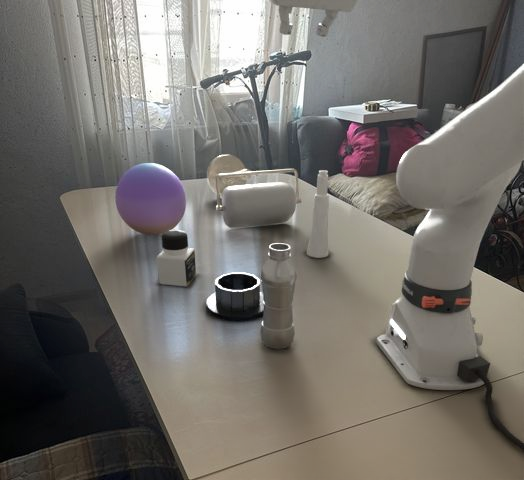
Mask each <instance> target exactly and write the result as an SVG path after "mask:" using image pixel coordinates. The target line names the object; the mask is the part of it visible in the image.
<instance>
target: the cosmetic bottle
mask: <svg viewBox="0 0 524 480" xmlns="http://www.w3.org/2000/svg"><path fill="white" fill-rule="evenodd" d="M328 173H329V171H328V170H326V169H322V170H318V174H317V179H316V193H315V194H314V198H313V205H312V214H311V225H310V233H309V239H308V245H307V249H306V255H307V256H308V257H310V258H315V259H322V258H326V257H328V256H329V254H330V253H329V206H330V205H329V203H330V202H329V201H330V195H329V193H328V191H329V190H328V188H329V178H330V177H329V174H328Z"/></svg>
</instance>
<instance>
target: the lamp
mask: <svg viewBox="0 0 524 480" xmlns="http://www.w3.org/2000/svg"><path fill="white" fill-rule="evenodd" d="M283 173H294V181H295V183H294V184H295V188H294V187H293V186H292V185H291V184H290V183H287V182H284V181H280V182H279V181H275V182H263V183H262V182H261V183H251V184H247V181H248V180H250V179H251V178H252V177H253V176H259V175H270V174H283ZM206 181H207V184H208V186H209V188H210V190H211V191H212V192H213V193H214V194H215V195H216V204H217V205H216V206H215V211H216V212H217V213H218V212H222V219H223V223H224V225H226V227H228V228H229V229H242V228H252V227H260V226H270V225H278V224H279V225H280V224H284V223H286V222H288V221H289V220H290V219H291V218H292V217H293V215H294V213H295V212H296V208H297V205H298V204H302V198H300V192H299V191H300V190H299V173H298V170H297V169H295V168H283V169H282V168H281V169H272V170H256V171H255V170H254V171H252V170H250V169H249V168H246V166H245V164H244V163H243V161H241V159H240V158H239V157H237V156H235V155H233V154H221V155H219V156H217V157H215V158H214V159H213V160H211V162H210V163H209V165H208V167H207V169H206Z"/></svg>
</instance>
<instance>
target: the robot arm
mask: <svg viewBox="0 0 524 480" xmlns="http://www.w3.org/2000/svg"><path fill="white" fill-rule="evenodd" d="M266 1H268V2H269V3H271V4H273V5H274V6H277V7H278V14H279V19H280V25H279V33H280V34H282V35H284V36H290V35H292V30H293V27H294V25H293V23H291V21H290V15H291V14H292V12H293V8H299V9H308V10H309V9H311V10H321V11H322V10H323V11H324V14H325V16H324V18H323V19H322V21H321V23H318V24H317V27H316V31H315V34H316V35H317V36H319V37H321V38H322V37H327V36H328V34H329V31H330V27H331V26H332V25H333V24H334V23H335V21H336V19H337V18H338V14H339V12H343V13H344V12H345V13H351V12H352V11H353V9H354V8H355V7H356V5H357V2H358V0H266ZM523 162H524V63H522V65H520V66H519V67H518V68H517V69H516V70H514V72H513V73H511V74H510V76H508V77H507V78H506V79H505V80H504V81H502V82H501V83H500V84H499V85H497V87H496V88H494V89H493V90H492V91H490V92H489V93H487V94H486V95H485V96H483V97H482V98H480V99H479V100H478V101H476V102H475V103H473V104H472V105H471V106H469V107H467V108H466V109H465V110H463V111H462V112H461V113H459V114H458V115H457V116H455V117H454V118H453V119H451V120H450V121H448V122H447V123H446V124H444V125H443V126H441V127H440V128H439V129H438V130H437V131H435V132H433V134H430V135H429V136H428V137H427V138H424V139H423V140H422V141H420V142H419V143H417V144H415V145H413V146H412V147H410V148H409V149H408V150H406V151H405V152H404V153H403V155H402V156H401V158H400V160H399V162H398V165H397V168H396V175H395V181H396V187H397V190H398V193H399V195H400V197H401V198H402V199H403V201H404V202H405V203H406V204H407V205H409V206H410V207H412V208H414V209H419V210H428V212H427V213H426V215H425V217H424V219H423V220H422V221H421V222H420V223H419V225H418V226H417V228H416V230H415V231H414V234H413V237H412V244H411V248H410V254H409V261H408V265H407V270H405V273H404V276H403V279H402V282H401V295H400V296H399V297H398V298H397V299H396V300H395V301H394V302H393V303H392V304H391V306H390V311H389V315H388V319H387V324H386V328H385V332H384V333H383V334H381V335H379V336H378V337H377V338H376V341H375V342H376V345H377V346H378V348H379V349H380V350H381V351H382V353H383V354H384V355H385V357H386V358H387V359H388V360H389V362H390V363H391V365H392V366H393V368H394V369H395V370H396V371H397V373H398V374H399V375H400V376H401V378H402V379H403V380H404V381H405V382H406V383H407V384H408V385H410V386H413V387H417V388H421V389H427V390H437V391H462V390H471V389H476V388H479V387H481V386H483V385H484V386H485V396H484V397H485V404H486V408H487V412H488V416H489V418H490V420H491V422H492V423H493V424H494V426H495V427H496V428H497V429H498V430H499V431H500V432H501V433H502V434H503V436H504V437H505V438H506V439H507V440H509V441H510V442H511V443H512V444H514V445H515V446H516V447H518V448H519V449H521V450H523V451H524V442H523V441H521V440H520V439H519V438H518V437H516V436H515V435H514V434H513V433H512V432H510V430H508V428H507V427H506V426H505V424H503V423H502V422H501V421H500V420H499V418H498V416H497V415H496V412H495V410H494V406H493V405H494V404H493V399H492V395H493V385H492V383H491V381H490V379H489V378H488V377H487V376H488V373H489V370H490V367H491V362H490V361H488V360H487V359H486V358H484V357H482V356H481V355H479V354H478V347H480V346H482V344H483V341H484V340H483V339H484V335H483V333H481V332H475V327H474V326H476V322H477V321H476V320H477V319H476V317H473V316H472V313H471V303H472V302H471V301H472V295H473V288H472V286H473V281H472V275H473V272H474V268H475V263H476V260H477V256H478V252H479V248H480V245H481V242H482V240H483V237H484V235H485V232H486V230H487V228H488V226H489V223H490V222H491V219H492V217H493V215H494V213H495V211H496V209H497V207H498V204H499V202H500V200H501V199H502V196H503V195H504V192H505V191H506V188H508V186H509V184H510V183H511V181H512V180H513V179H514V178H515V177H516V176H517V174H518V172H519V171H520V169H521V166H522V163H523Z"/></svg>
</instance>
